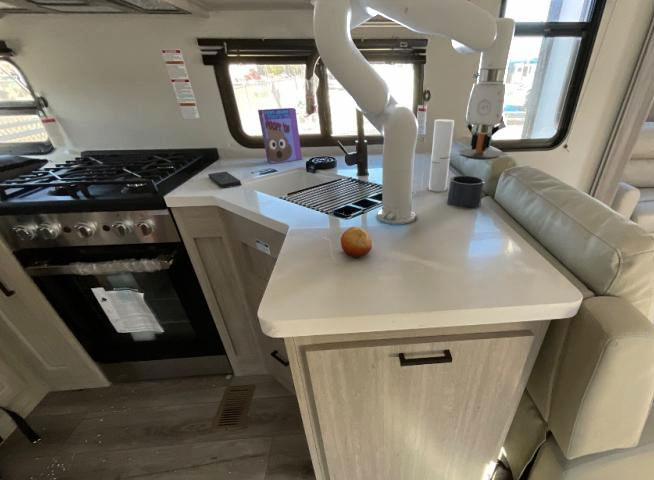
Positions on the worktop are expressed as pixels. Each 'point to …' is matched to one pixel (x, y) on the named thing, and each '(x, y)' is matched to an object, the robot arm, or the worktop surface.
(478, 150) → the lid
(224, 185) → the smart home device
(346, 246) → the fruit
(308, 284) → the worktop surface
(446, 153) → the white tall block
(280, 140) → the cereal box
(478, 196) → the pot
